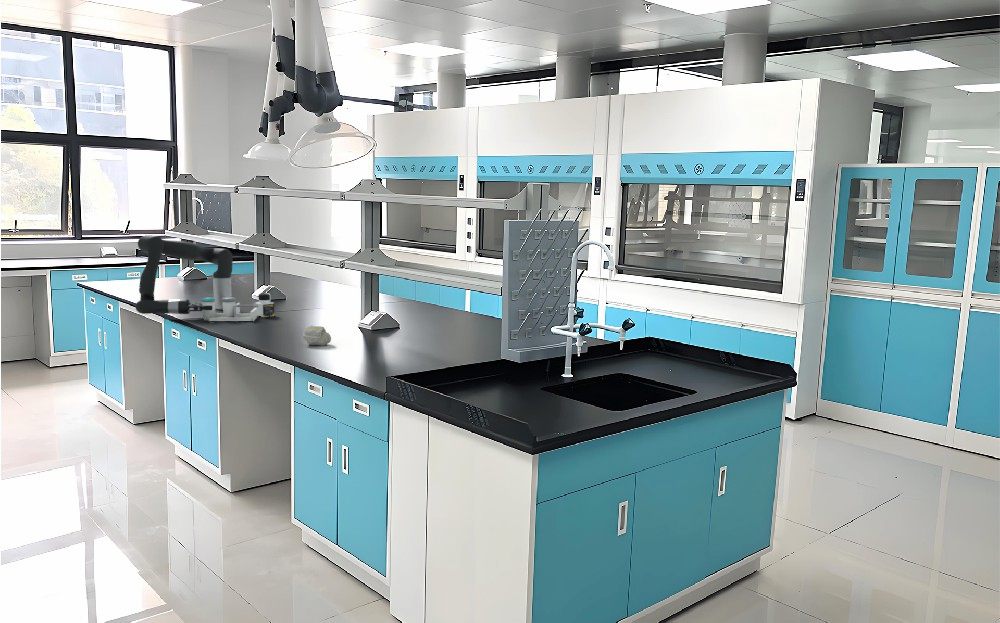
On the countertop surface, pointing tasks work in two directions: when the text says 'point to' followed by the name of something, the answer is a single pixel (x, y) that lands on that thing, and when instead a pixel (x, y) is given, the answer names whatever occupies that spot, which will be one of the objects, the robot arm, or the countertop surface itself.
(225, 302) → the stock jar
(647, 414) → the countertop surface
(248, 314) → the lane
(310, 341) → the grey lumpy stone
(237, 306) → the follower
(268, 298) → the medicine bottle
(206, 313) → the jar
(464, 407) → the countertop surface
